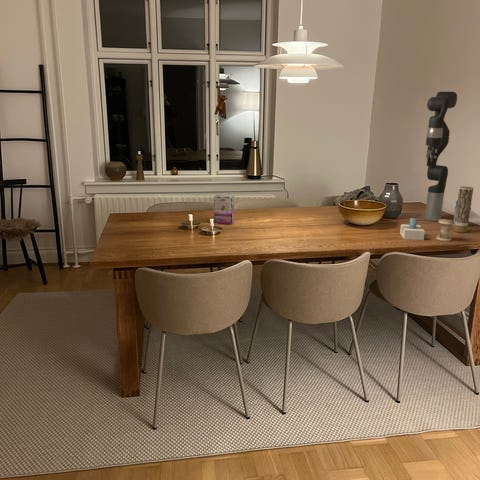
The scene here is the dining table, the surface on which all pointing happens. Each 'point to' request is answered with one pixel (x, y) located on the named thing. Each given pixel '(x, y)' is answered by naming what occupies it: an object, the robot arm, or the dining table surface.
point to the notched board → (412, 232)
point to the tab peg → (412, 223)
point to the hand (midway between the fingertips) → (430, 167)
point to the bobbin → (445, 230)
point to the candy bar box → (224, 209)
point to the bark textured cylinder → (456, 209)
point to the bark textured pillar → (463, 209)
